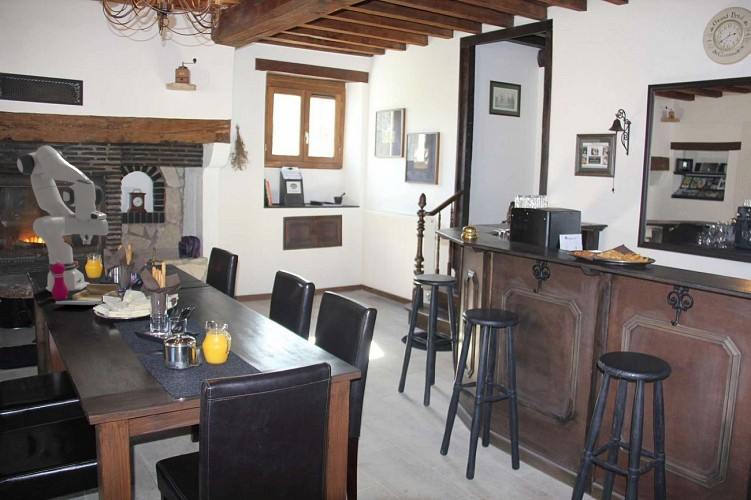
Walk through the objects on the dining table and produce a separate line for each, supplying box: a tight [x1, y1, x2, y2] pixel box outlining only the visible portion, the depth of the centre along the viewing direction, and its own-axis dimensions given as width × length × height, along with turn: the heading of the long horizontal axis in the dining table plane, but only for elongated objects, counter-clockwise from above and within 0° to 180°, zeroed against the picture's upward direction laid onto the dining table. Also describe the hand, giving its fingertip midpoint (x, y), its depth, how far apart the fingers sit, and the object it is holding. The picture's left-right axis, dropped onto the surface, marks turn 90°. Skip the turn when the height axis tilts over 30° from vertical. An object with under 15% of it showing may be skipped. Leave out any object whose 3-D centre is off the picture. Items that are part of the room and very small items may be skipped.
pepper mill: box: [51, 260, 69, 301], centre depth 315 cm, size 7×7×20 cm
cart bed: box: [72, 283, 119, 302], centre depth 315 cm, size 14×15×7 cm
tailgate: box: [55, 300, 104, 306], centre depth 301 cm, size 1×16×14 cm
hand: (86, 244), depth 307 cm, fingers closed
